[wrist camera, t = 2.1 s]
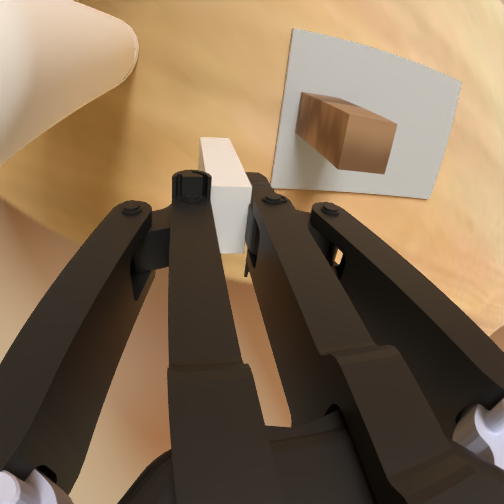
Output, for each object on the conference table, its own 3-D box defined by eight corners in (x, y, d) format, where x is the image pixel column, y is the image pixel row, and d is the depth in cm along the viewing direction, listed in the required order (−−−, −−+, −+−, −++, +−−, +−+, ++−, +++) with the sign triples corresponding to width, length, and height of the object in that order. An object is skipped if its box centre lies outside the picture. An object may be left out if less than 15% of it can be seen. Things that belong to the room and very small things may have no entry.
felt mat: (292, 28, 26) (293, 28, 26) (459, 81, 31) (461, 81, 31) (269, 186, 36) (270, 188, 36) (427, 197, 42) (429, 199, 41)
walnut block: (301, 91, 30) (349, 114, 21) (340, 98, 31) (397, 124, 22) (294, 132, 33) (337, 169, 24) (332, 136, 34) (384, 174, 25)
